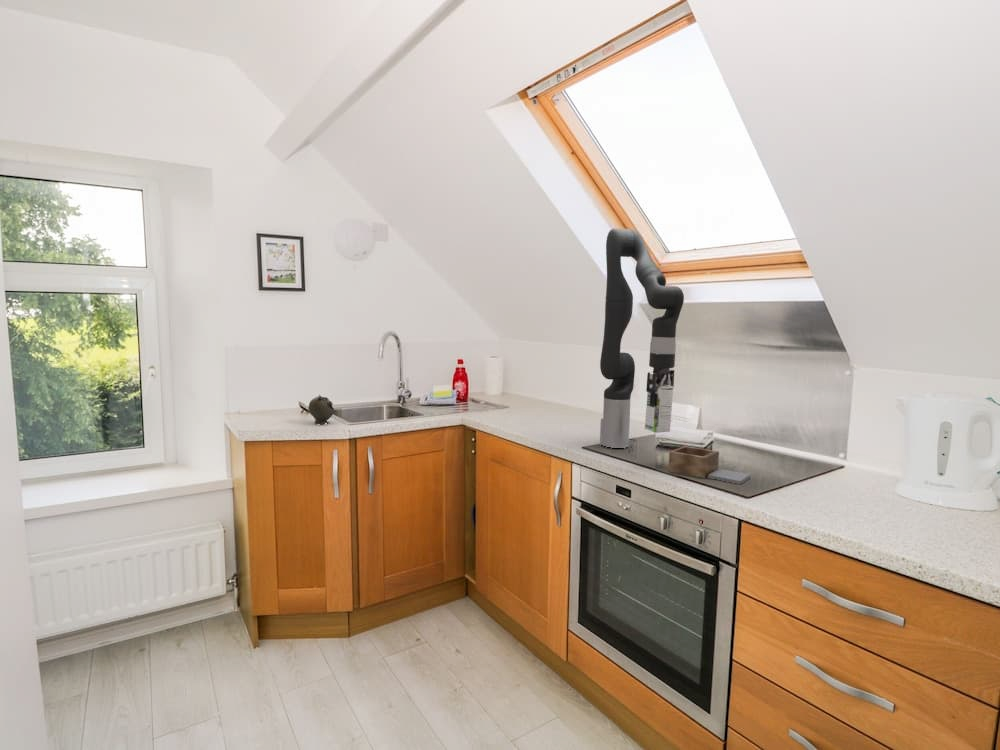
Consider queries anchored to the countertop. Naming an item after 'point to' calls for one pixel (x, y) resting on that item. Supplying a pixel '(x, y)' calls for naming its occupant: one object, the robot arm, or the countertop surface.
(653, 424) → the syrup box
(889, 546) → the countertop surface
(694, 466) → the walnut sleeve
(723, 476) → the slate mat
